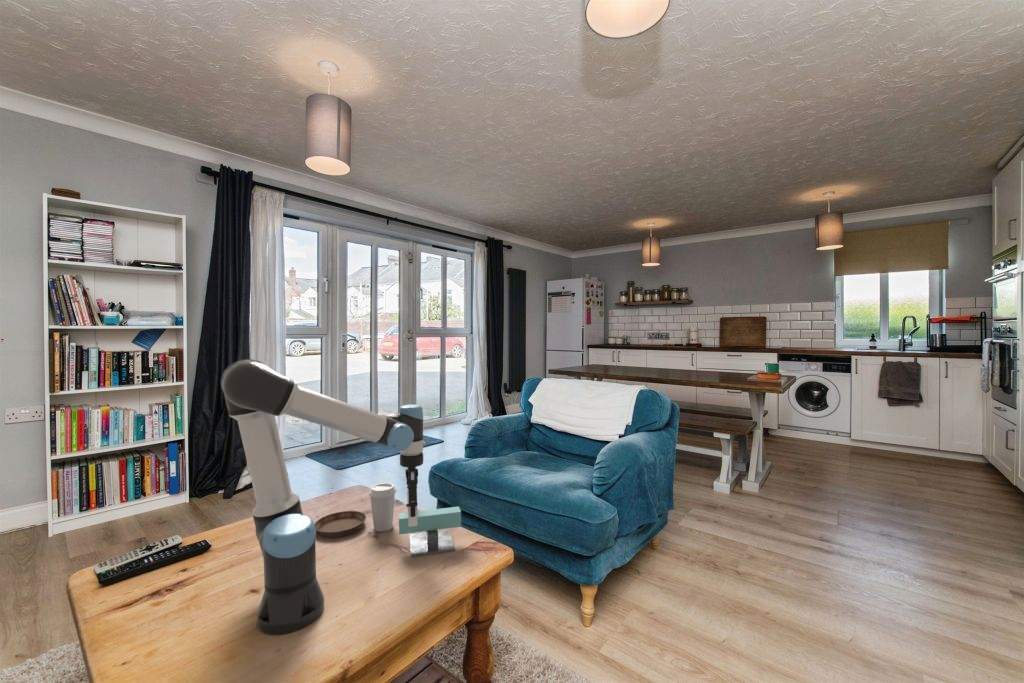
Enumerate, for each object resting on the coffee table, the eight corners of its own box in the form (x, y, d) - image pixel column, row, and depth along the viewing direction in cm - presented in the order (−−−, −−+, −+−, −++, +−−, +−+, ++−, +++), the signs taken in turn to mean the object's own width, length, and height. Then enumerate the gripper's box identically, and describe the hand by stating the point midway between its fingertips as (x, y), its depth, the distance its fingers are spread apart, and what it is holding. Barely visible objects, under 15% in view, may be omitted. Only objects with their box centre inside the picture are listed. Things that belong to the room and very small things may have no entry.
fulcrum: (455, 550, 140) (454, 532, 140) (410, 557, 137) (410, 538, 137) (450, 531, 154) (449, 514, 154) (409, 536, 150) (409, 519, 150)
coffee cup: (402, 525, 159) (401, 485, 159) (381, 536, 151) (381, 493, 151) (384, 519, 164) (383, 480, 164) (363, 529, 156) (363, 488, 156)
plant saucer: (303, 531, 155) (303, 523, 155) (347, 514, 170) (347, 506, 170) (332, 545, 145) (332, 536, 145) (376, 525, 160) (376, 517, 160)
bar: (461, 526, 145) (460, 511, 144) (399, 534, 139) (398, 519, 139) (459, 520, 149) (459, 506, 149) (399, 528, 144) (398, 513, 144)
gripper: (425, 462, 131) (426, 532, 131) (421, 442, 155) (421, 501, 155) (400, 464, 129) (400, 535, 129) (399, 443, 153) (400, 503, 154)
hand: (412, 516), depth 142 cm, fingers open, 13 cm apart
